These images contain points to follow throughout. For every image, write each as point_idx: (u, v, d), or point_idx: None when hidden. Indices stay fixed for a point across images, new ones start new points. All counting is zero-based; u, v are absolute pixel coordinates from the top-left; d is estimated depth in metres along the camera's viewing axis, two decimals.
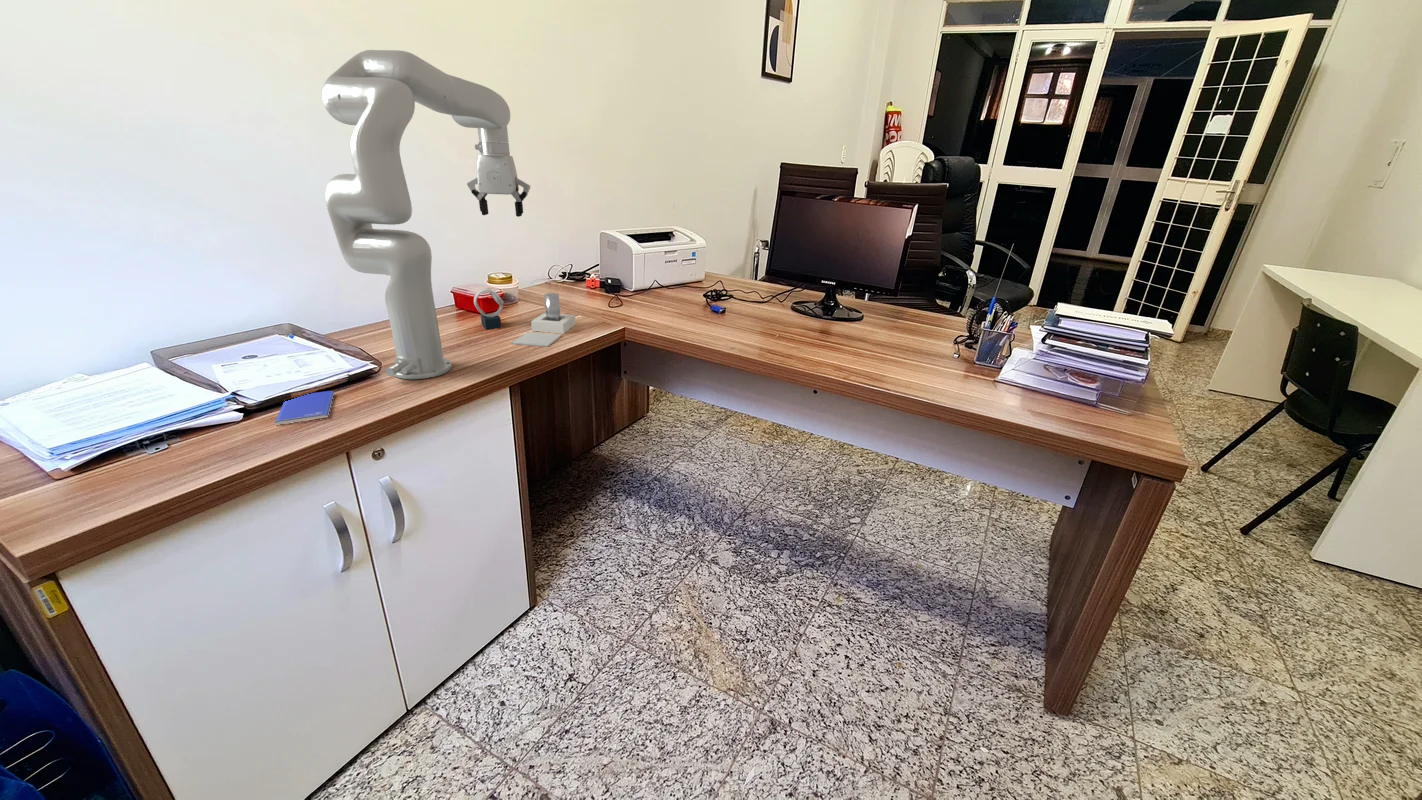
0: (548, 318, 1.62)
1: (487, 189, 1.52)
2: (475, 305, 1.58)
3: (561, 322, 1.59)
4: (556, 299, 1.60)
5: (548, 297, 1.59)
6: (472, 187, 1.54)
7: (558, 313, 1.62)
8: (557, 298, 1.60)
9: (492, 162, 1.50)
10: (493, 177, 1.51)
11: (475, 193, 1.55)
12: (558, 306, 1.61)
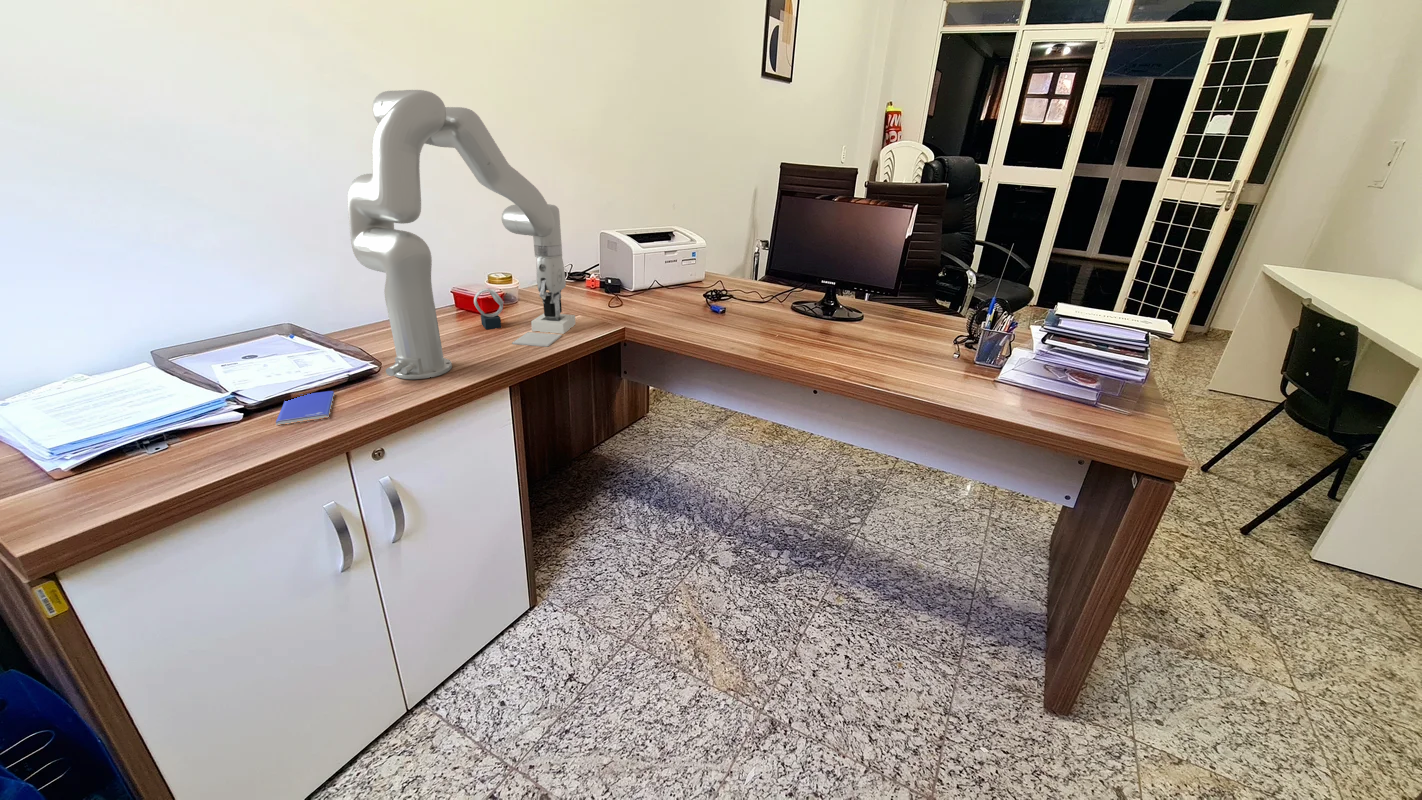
0: (548, 318, 1.62)
1: (557, 288, 1.57)
2: (475, 305, 1.58)
3: (561, 322, 1.59)
4: (556, 299, 1.60)
5: None
6: (546, 295, 1.55)
7: (558, 313, 1.62)
8: (557, 298, 1.60)
9: (558, 262, 1.56)
10: (559, 276, 1.58)
11: (548, 298, 1.57)
12: (558, 306, 1.61)
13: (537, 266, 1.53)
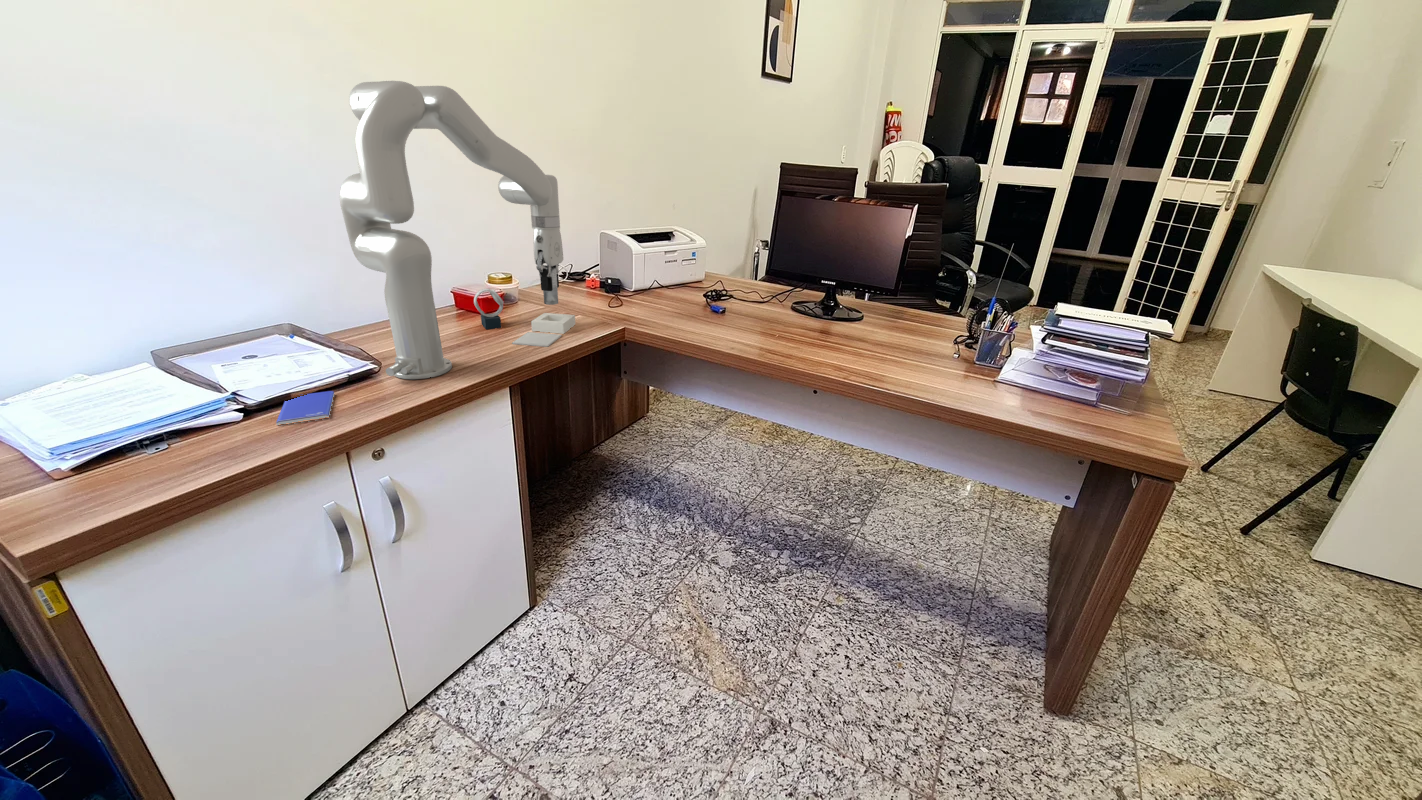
0: (545, 292, 1.58)
1: (554, 261, 1.54)
2: (475, 305, 1.58)
3: (561, 322, 1.59)
4: (554, 273, 1.57)
5: None
6: (543, 267, 1.52)
7: (555, 287, 1.58)
8: (554, 272, 1.57)
9: (556, 234, 1.53)
10: (557, 249, 1.54)
11: (546, 271, 1.53)
12: (555, 280, 1.58)
13: (534, 237, 1.50)
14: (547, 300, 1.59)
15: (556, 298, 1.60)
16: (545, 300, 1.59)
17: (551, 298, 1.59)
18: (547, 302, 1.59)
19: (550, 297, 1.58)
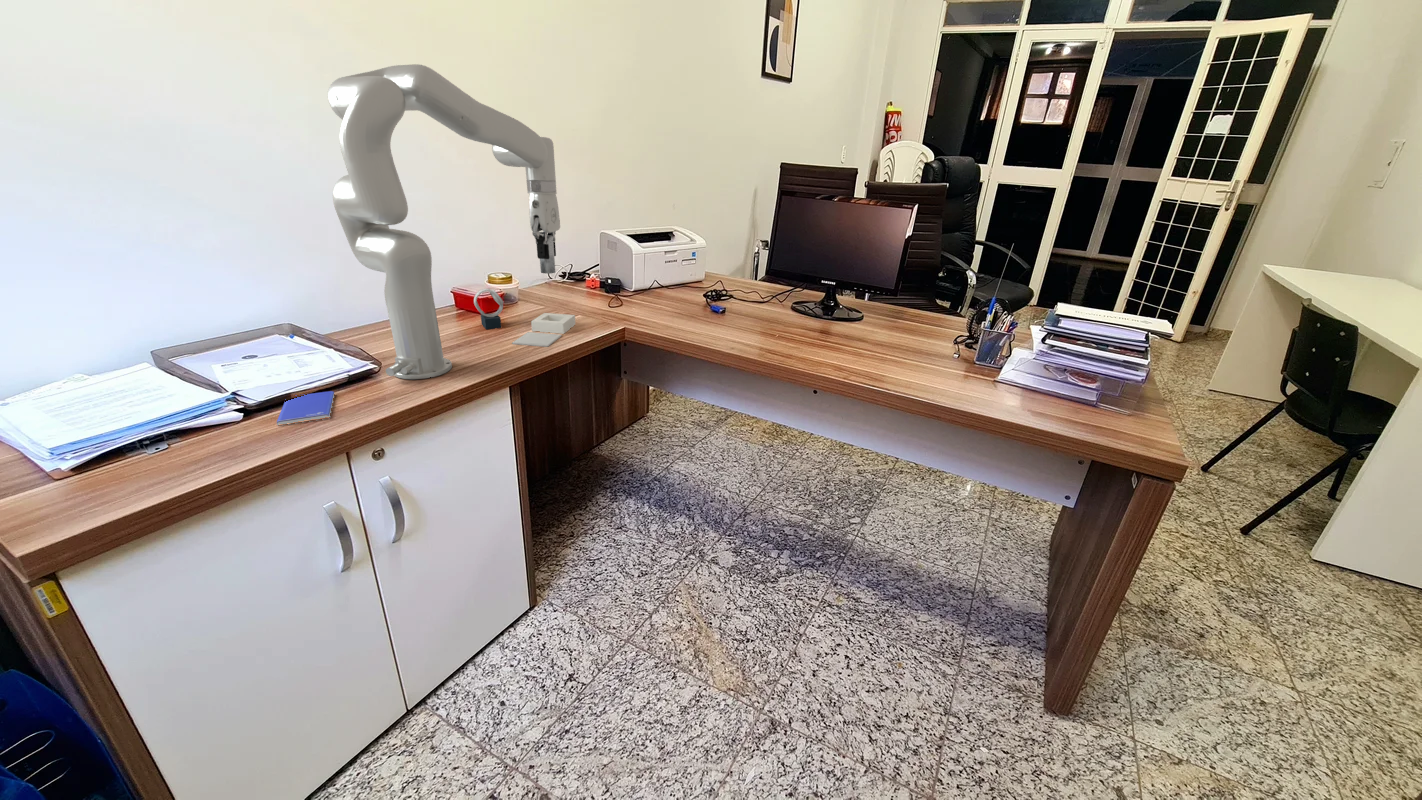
0: (542, 261, 1.54)
1: (551, 228, 1.49)
2: (475, 305, 1.58)
3: (561, 322, 1.59)
4: (550, 241, 1.52)
5: None
6: (539, 233, 1.47)
7: (552, 256, 1.54)
8: (551, 239, 1.52)
9: (552, 200, 1.49)
10: (553, 215, 1.50)
11: (542, 238, 1.49)
12: (552, 248, 1.54)
13: (530, 202, 1.45)
14: (544, 268, 1.54)
15: (553, 267, 1.55)
16: (542, 268, 1.55)
17: (548, 267, 1.54)
18: (544, 271, 1.55)
19: (547, 265, 1.54)
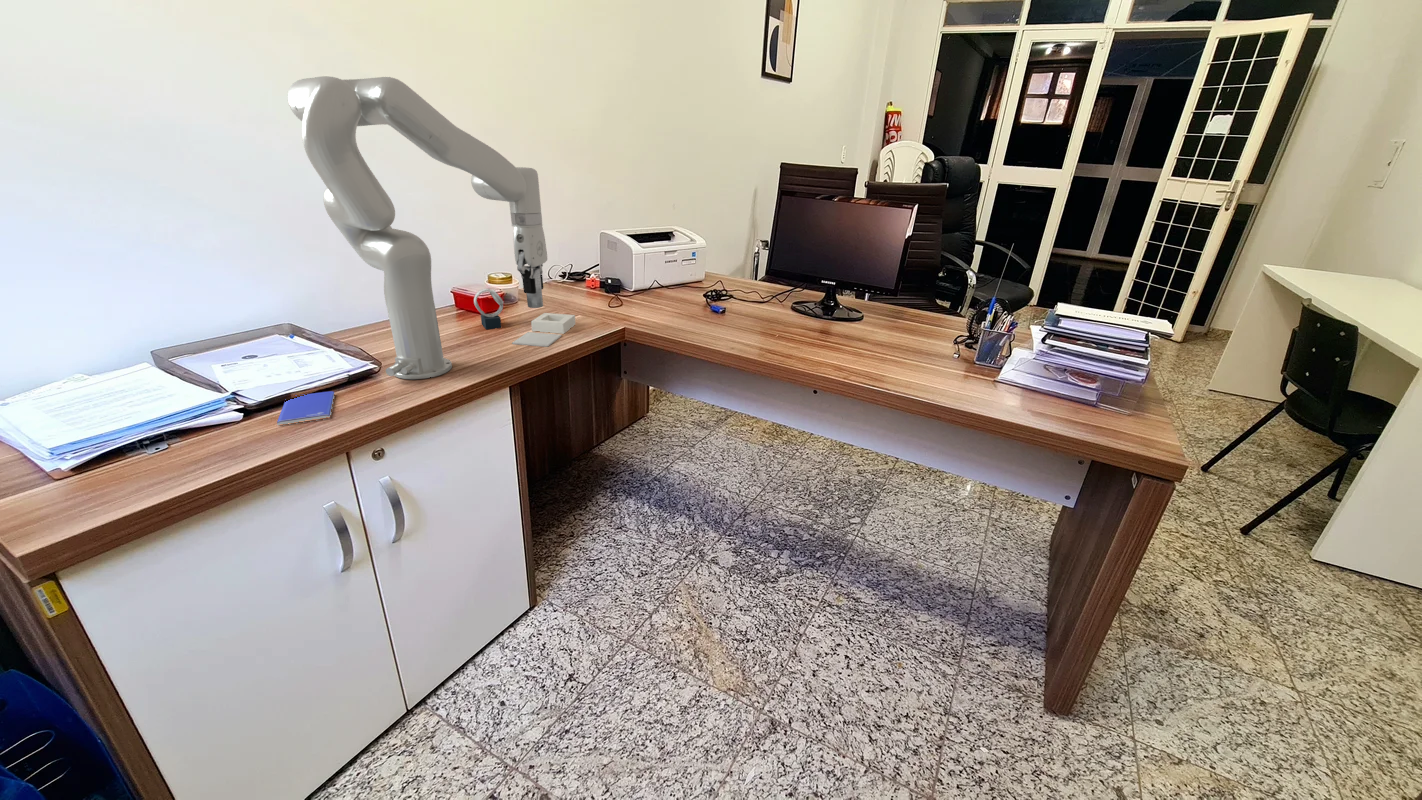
0: (528, 295, 1.47)
1: (537, 262, 1.42)
2: (475, 305, 1.58)
3: (561, 322, 1.59)
4: (537, 274, 1.45)
5: None
6: (524, 268, 1.40)
7: (539, 289, 1.47)
8: (538, 273, 1.45)
9: (538, 233, 1.42)
10: (539, 248, 1.43)
11: (528, 272, 1.42)
12: (539, 282, 1.47)
13: (514, 236, 1.38)
14: (530, 303, 1.48)
15: (540, 301, 1.49)
16: (529, 303, 1.48)
17: (535, 301, 1.47)
18: (531, 305, 1.48)
19: (534, 300, 1.47)
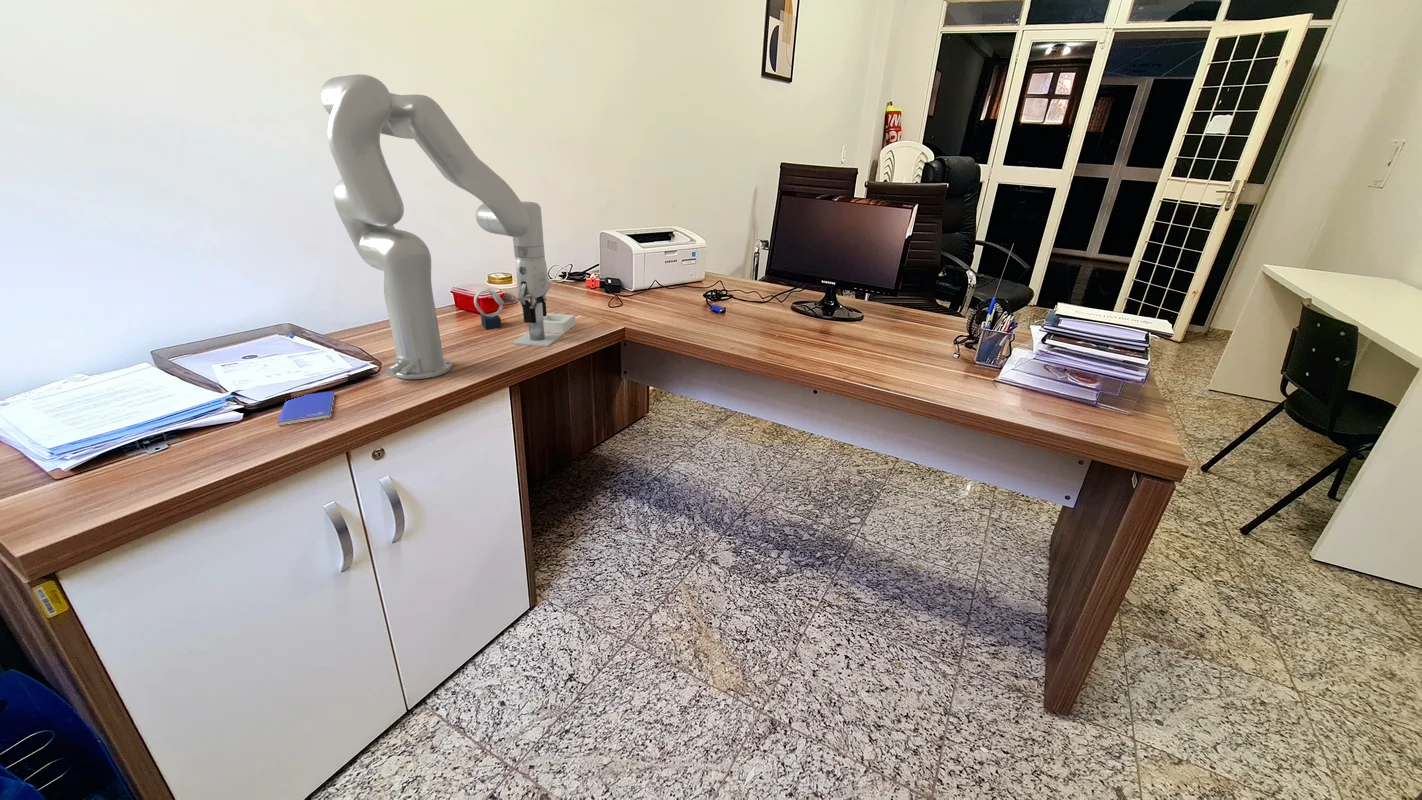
0: (530, 328, 1.50)
1: (539, 293, 1.46)
2: (475, 305, 1.58)
3: (561, 322, 1.59)
4: (539, 308, 1.49)
5: None
6: (525, 298, 1.43)
7: (541, 323, 1.51)
8: (540, 307, 1.49)
9: (540, 264, 1.45)
10: (542, 279, 1.46)
11: (528, 303, 1.44)
12: (541, 315, 1.50)
13: (517, 268, 1.41)
14: (532, 336, 1.51)
15: (542, 333, 1.52)
16: (531, 335, 1.51)
17: (537, 334, 1.51)
18: (533, 338, 1.51)
19: (536, 333, 1.51)
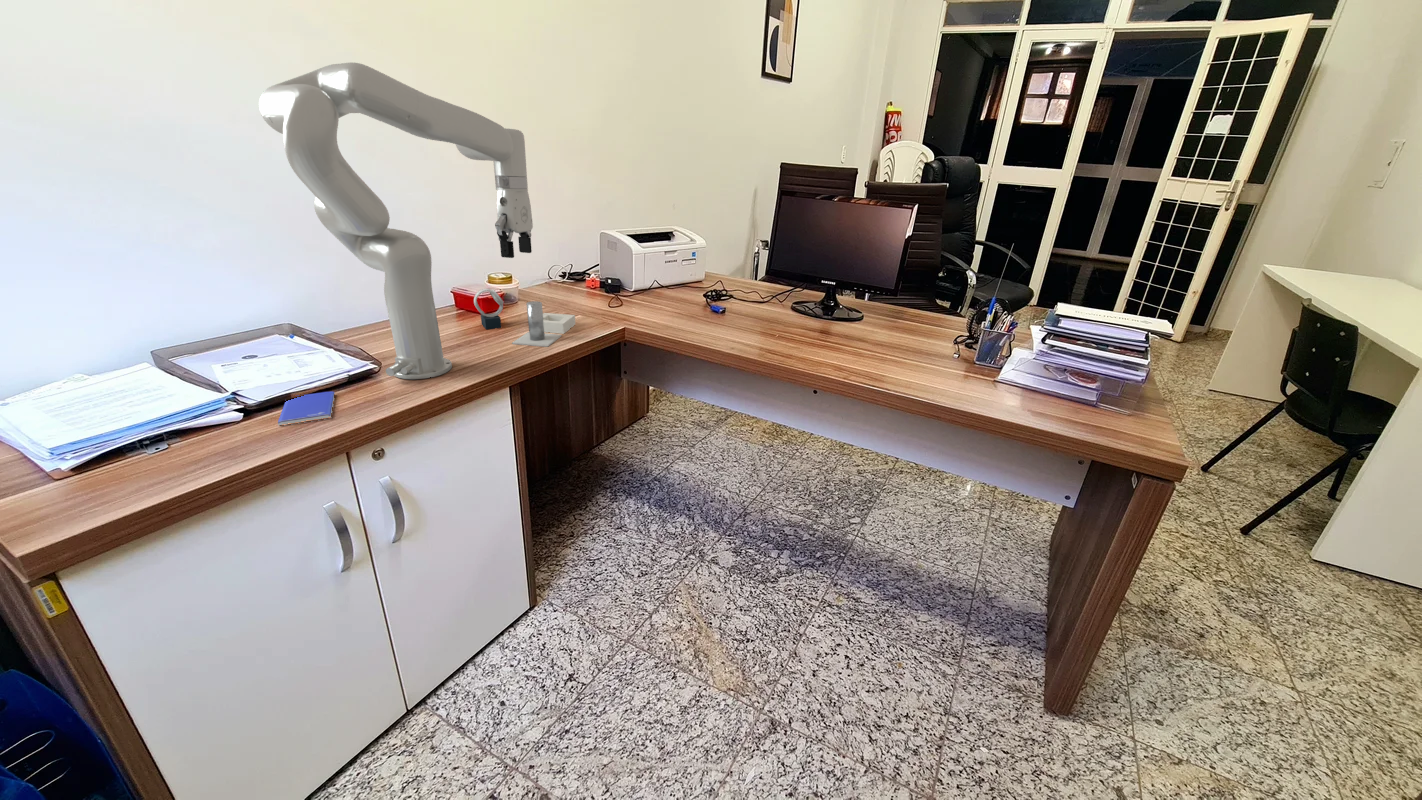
0: (530, 328, 1.50)
1: (521, 228, 1.38)
2: (475, 305, 1.58)
3: (561, 322, 1.59)
4: (539, 308, 1.49)
5: (530, 306, 1.48)
6: (502, 228, 1.33)
7: (541, 323, 1.51)
8: (540, 307, 1.49)
9: (523, 198, 1.37)
10: (524, 214, 1.39)
11: (505, 234, 1.35)
12: (541, 315, 1.50)
13: (497, 200, 1.34)
14: (532, 336, 1.51)
15: (542, 333, 1.52)
16: (531, 336, 1.51)
17: (537, 334, 1.51)
18: (533, 338, 1.51)
19: (536, 333, 1.51)
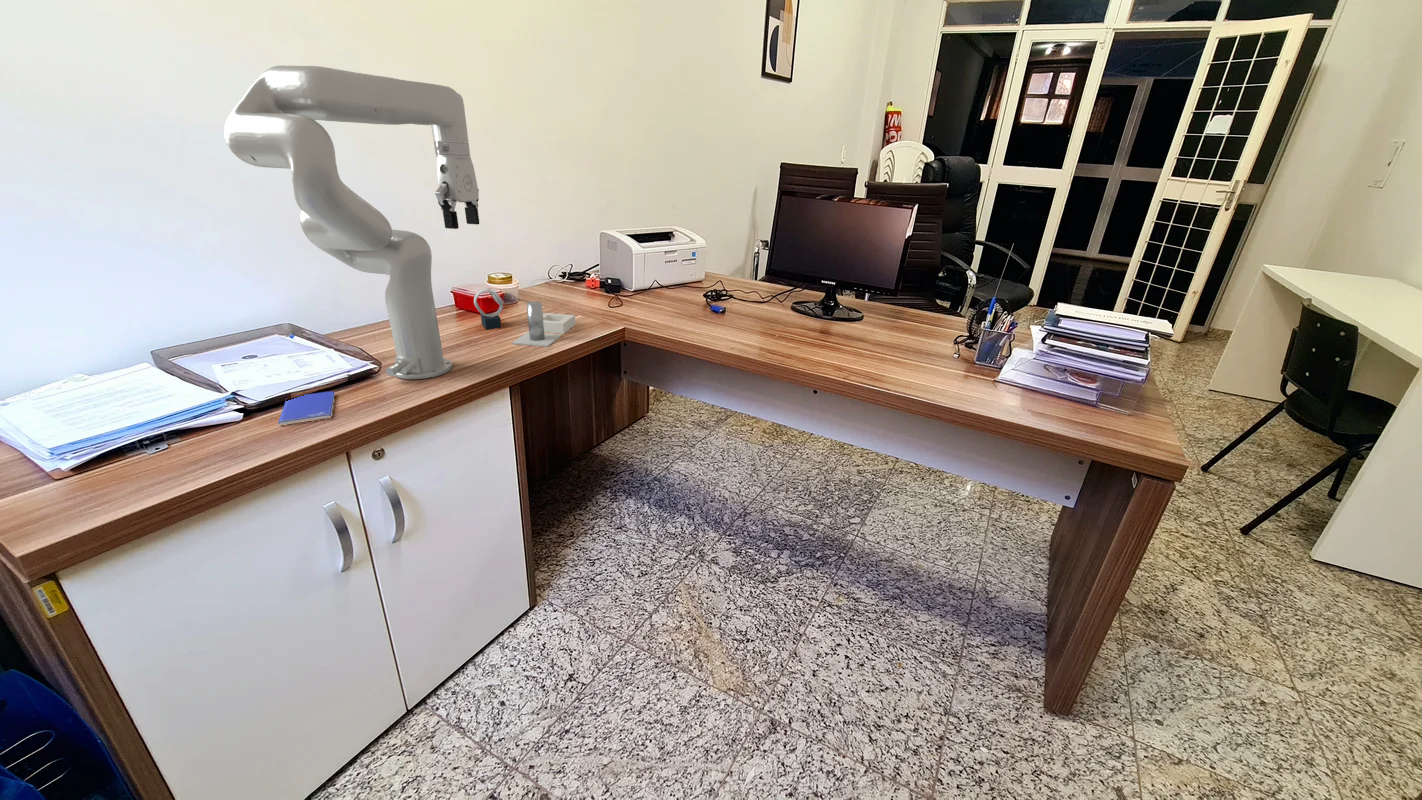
0: (530, 328, 1.50)
1: (464, 197, 1.32)
2: (475, 305, 1.58)
3: (561, 322, 1.59)
4: (539, 308, 1.49)
5: (530, 306, 1.48)
6: (443, 197, 1.28)
7: (541, 323, 1.51)
8: (540, 307, 1.49)
9: (465, 165, 1.31)
10: (467, 183, 1.33)
11: (447, 204, 1.29)
12: (541, 315, 1.50)
13: (437, 167, 1.28)
14: (532, 336, 1.51)
15: (542, 334, 1.52)
16: (531, 336, 1.51)
17: (537, 334, 1.51)
18: (533, 338, 1.51)
19: (536, 333, 1.51)
